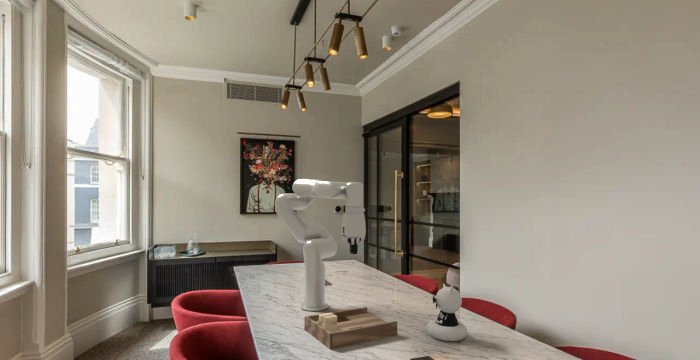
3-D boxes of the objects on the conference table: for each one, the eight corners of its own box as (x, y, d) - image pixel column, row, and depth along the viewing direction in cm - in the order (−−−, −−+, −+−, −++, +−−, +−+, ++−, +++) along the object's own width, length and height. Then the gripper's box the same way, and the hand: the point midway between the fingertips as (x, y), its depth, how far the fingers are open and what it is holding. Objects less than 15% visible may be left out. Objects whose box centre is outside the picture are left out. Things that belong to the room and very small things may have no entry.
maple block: (318, 328, 142) (318, 314, 142) (330, 326, 144) (331, 312, 144) (324, 332, 137) (324, 318, 138) (337, 330, 140) (337, 316, 140)
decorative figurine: (422, 329, 150) (422, 277, 151) (458, 329, 152) (458, 277, 153) (433, 343, 136) (433, 286, 137) (473, 343, 137) (473, 285, 138)
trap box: (304, 329, 149) (304, 316, 149) (366, 319, 163) (366, 307, 163) (330, 349, 130) (330, 334, 130) (397, 335, 144) (397, 321, 144)
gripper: (364, 210, 173) (363, 251, 172) (334, 210, 166) (334, 253, 165) (373, 211, 167) (373, 253, 166) (343, 211, 159) (342, 256, 159)
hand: (353, 253), depth 166 cm, fingers closed
